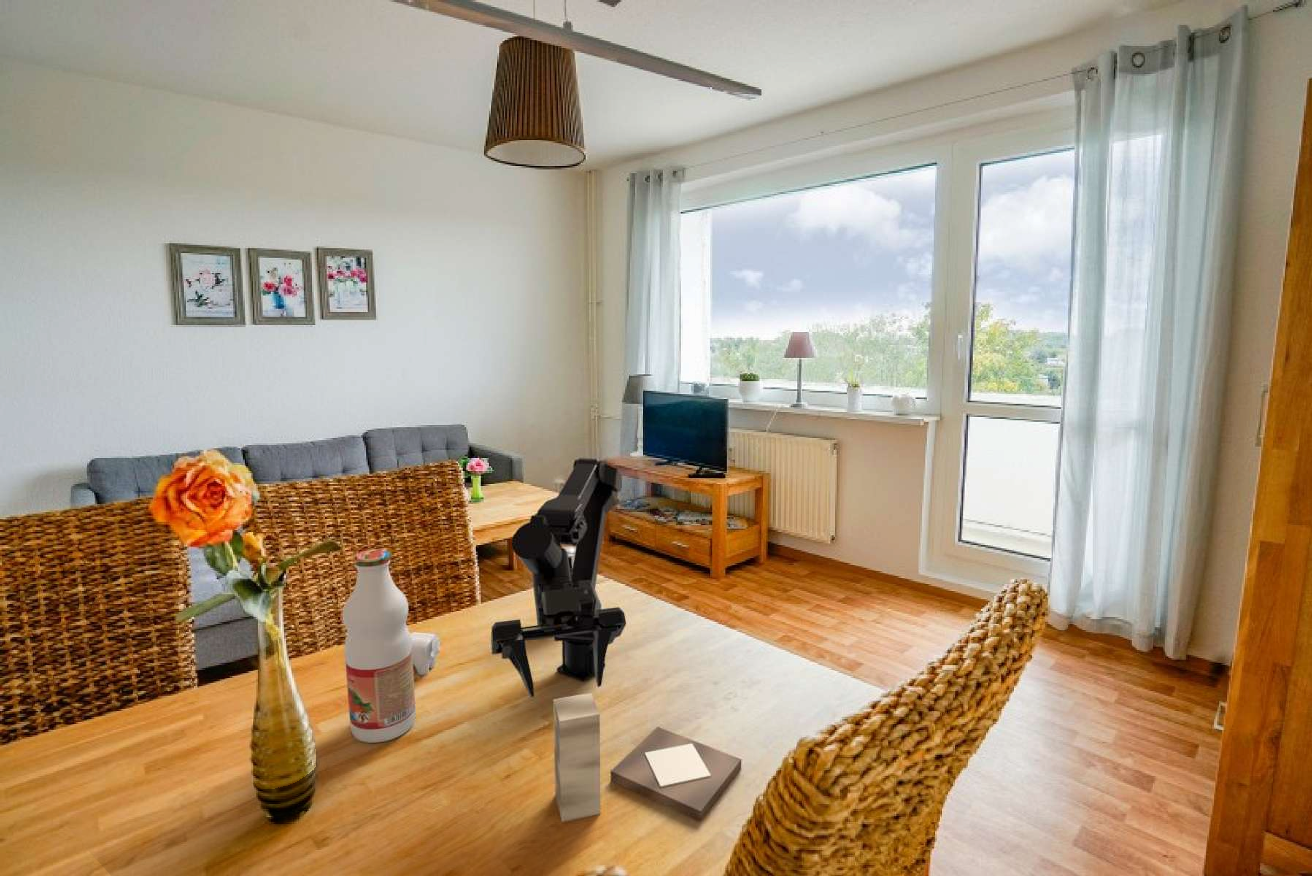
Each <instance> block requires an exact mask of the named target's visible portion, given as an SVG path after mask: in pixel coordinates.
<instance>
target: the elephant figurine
mask: <svg viewBox="0 0 1312 876" xmlns="http://www.w3.org/2000/svg"><path fill="white" fill-rule="evenodd" d="M410 636H411V643H412V660H413V672H414V670H415V669H416V671H417V674H418V675H420V676H425V675H428V674H429V671H430V669H433V668H434V667H435V665H436V662H437V656H438V654H439V653H440V651H441V650H440V646H443V643H442V642H440V638H439V637H440V635H439V632H435V633H425V632H416V631H414V632H410ZM414 667H415V669H414Z"/></svg>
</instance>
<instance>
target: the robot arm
mask: <svg viewBox="0 0 1312 876" xmlns="http://www.w3.org/2000/svg"><path fill="white" fill-rule="evenodd" d="M622 486H623V477H622V473H621V472H620V470H619V469H618V468H616V467H614V466H612V465H609V464H607V463H605V461H603V460H602V459H599V458H585V457H584V458H583V457H582V458H581V457H579V458H577V459H575V460H574V462H573V469H572V471H571V472H570V474H569V475H568V477H567V479H566V481H565V483H564V485H563V487H561V490H560V492H559V494H558V495H557V497H553V498H551V499H548V500H546V501H545V502H544V503H543V504H542V505H540V507H539V509H538V510H537V512H536V513H535V514H534V515H533V514H532V515H531V517H530V520H529V522H527V523H525V524H523V525H522V526H520V527H518V528H517V530H516V531H515V532H514V534H513V536H512V538H511V547H512V550H513V552H514V554H515V555H516V556H517V558H518V559H519V560H520V562H521V563H522V564H523V565H524V566H525V568H526V569H527V570H528V571H530V572H531V579H532V589H533V596H534V605H535V614H536V615H535V616H536V621H537V623H536V624H537V625H536V624H535V625H531V626H522V623H521V619H513V620H504V621H495V623H493V625H492V626H491V632H490V642H491V643H490V644H491V645H490V646H491V654H494V655H501V659H503V660H504V659H505V660H506V659H507V660H508V659H509V661H510V662H511V664H512V665H513V667H514V668H515V669H516V671H517V672H518V674H519V676H520V678H521V680H522V682H523V684H524V686H525V688H526V690H527V692H528V694H529V696H530V698H534V697H535V688H534V681H533V676H532V672H531V668H530V663H529V657H528V653H527V645H526V642H528V641H529V642H530V641H534V640H542V639H551V638H553V640H554V642H561V654H562V655H561V657H562V660H561V661H562V664H561V665H559V666H558V667H556V672H557V673H560V674H561V675H562V674H563V675H566V676H568V677H570V678H573V679H576V680H579V681H582V682H585V681H587V680H589V679H590V678H592V677H593V676H595V681H596V684H597V687H598V688H600V687H601V686H602V683H603V677H604V676H603V674H604V669H605V667H606V663H605V661H606V654H607V650H608V647H609V645H611V644H613V643H614V641H615V639H617V638H619V637H621V635H622V633H623V631H624V629H625V627H626V625H627V620H626V615H625V612H624V611H623V609H622V608H620V607H610V608H609V607H608V608H602V603H601V601H600V599H599V595H598V594H597V591H596V584H597V577H598V571H599V563H600V559H601V551H602V545H603V538H604V530H605V523H606V519H607V518H606V517H607V514H608V513H610V511H611V509H613V507H614V506H616V504H617V502H618V495H619V493H620V492H621V491H622ZM562 545H565V546H576V551H575V557H574V563H573V569H572V575H571V573H570V567H569V560H568V553H567V551H566V550H565V549H564V548H562V547H563V546H562Z"/></svg>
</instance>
